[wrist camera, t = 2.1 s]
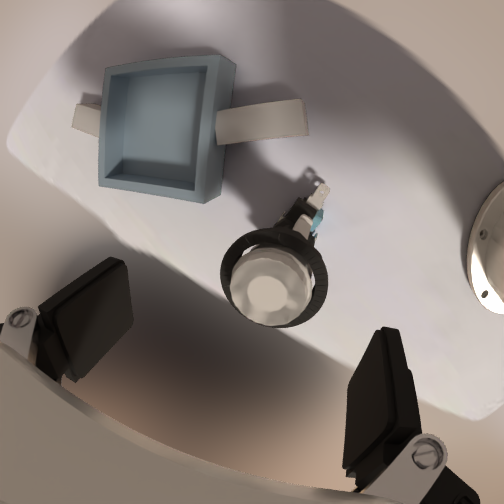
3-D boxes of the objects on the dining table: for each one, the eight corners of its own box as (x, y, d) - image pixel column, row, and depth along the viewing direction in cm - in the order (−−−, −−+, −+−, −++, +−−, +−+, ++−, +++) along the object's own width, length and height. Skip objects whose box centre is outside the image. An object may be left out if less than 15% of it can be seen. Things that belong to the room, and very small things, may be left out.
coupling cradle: (317, 72, 16) (314, 60, 14) (296, 209, 21) (289, 221, 18) (92, 78, 21) (70, 77, 18) (87, 175, 25) (66, 181, 23)
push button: (296, 164, 20) (263, 186, 11) (356, 206, 20) (371, 263, 11) (251, 234, 23) (195, 298, 14) (306, 271, 23) (282, 355, 14)
